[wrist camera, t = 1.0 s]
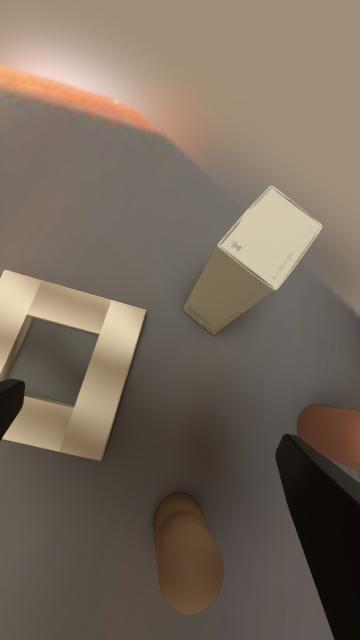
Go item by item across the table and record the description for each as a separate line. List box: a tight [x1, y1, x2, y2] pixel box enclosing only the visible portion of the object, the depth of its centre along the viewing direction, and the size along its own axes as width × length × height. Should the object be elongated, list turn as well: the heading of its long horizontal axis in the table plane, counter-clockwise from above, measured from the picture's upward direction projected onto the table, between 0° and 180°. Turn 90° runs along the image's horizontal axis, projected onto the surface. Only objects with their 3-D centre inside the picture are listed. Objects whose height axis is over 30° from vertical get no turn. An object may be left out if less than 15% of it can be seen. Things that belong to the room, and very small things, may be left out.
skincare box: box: [183, 186, 322, 335], centre depth 20 cm, size 6×4×12 cm
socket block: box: [0, 270, 146, 461], centre depth 21 cm, size 13×13×2 cm
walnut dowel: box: [154, 493, 223, 615], centre depth 18 cm, size 4×4×6 cm
